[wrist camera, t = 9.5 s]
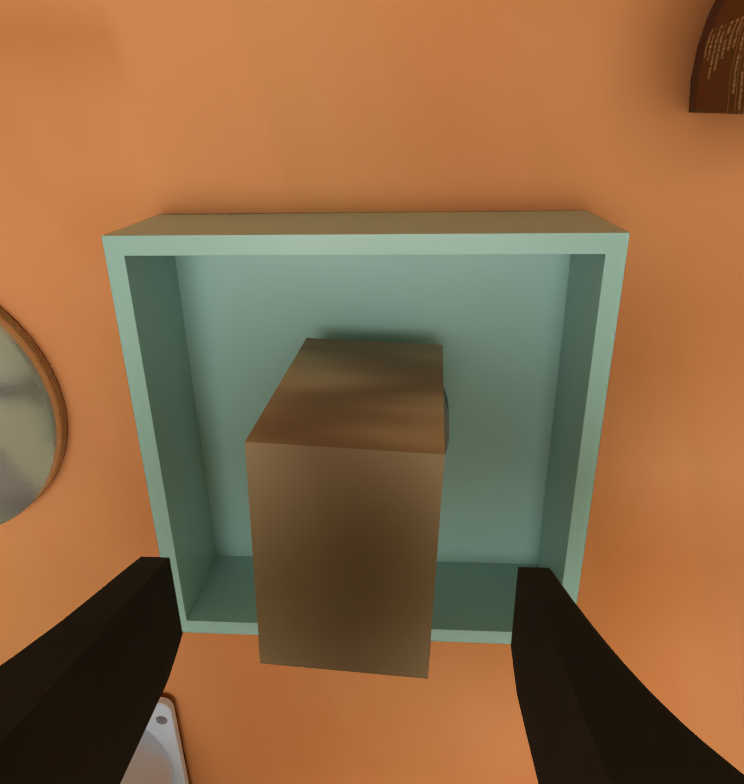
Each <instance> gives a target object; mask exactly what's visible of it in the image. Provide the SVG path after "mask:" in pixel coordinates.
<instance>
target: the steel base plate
mask: <svg viewBox="0 0 744 784" xmlns="http://www.w3.org/2000/svg"><path fill="white" fill-rule="evenodd" d="M66 441H67V417H66V411H65V405H64V401H63V397H62V394H61V391H60V387H59V385H58V383H57V380H56V378H55V376H54V373H53V371H52V369H51V367H50V366H49V364H48V362H47V360H46V359H45V357H44V355H43V354H42V352H41V351H40V349H39V348H38V347H37V345H36V344H35V342H34V341H33V340H32V338H31V337H30V336H29V335H28V334H27V333H26V331H25V330H24V329H23V328H22V327H21V326H20V325H19V324H18V323H17V322H16V321H15V320H14V319H13V318H12V317H11V316H10V315H9V314H8V313H6V312H5V311H4V310H3V309H2V308H1V307H0V524H2V523H4V522H7V521H9V520H11V519H12V518H14V517H15V516H17V515H18V514H20V513H21V512H22V511H23V510H24V509H25V508H26V507H28V506H29V505H30V504H31V503H32V502H33V501H34V500H35V499H36V498H37V497H38V496H39V495H40V494H41V493H42V492H43V491H44V490H45V489H46V488H47V486H48V485H49V484H50V482H51V481H52V480H53V478H54V477H55V475H56V473H57V471H58V469H59V467H60V465H61V463H62V459H63V456H64V453H65V448H66Z"/></svg>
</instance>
